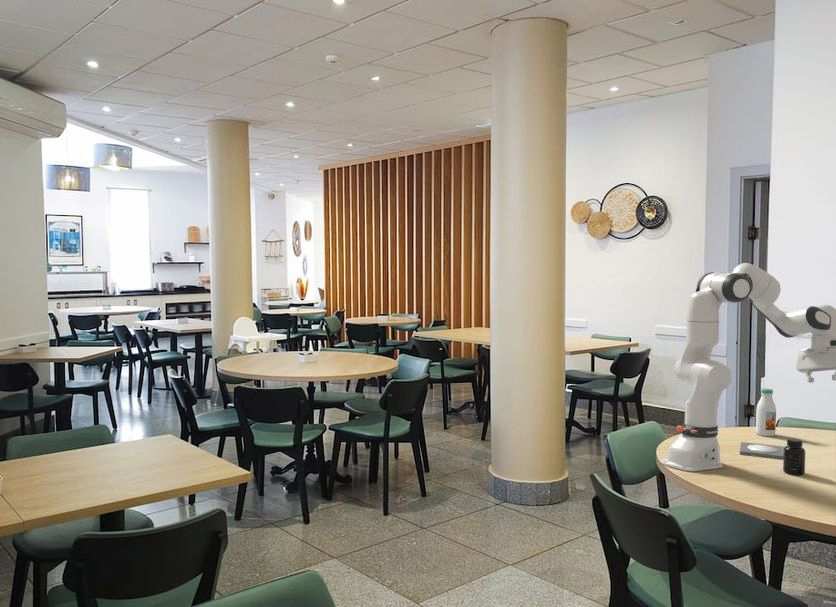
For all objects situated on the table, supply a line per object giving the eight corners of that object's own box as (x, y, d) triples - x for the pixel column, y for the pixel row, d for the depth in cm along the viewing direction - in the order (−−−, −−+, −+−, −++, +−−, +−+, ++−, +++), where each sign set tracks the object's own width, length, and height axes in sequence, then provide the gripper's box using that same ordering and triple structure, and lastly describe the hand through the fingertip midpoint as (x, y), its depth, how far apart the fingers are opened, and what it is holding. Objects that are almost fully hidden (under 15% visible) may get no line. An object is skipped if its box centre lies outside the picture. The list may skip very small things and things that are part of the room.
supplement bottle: (783, 469, 250) (784, 436, 250) (805, 472, 247) (806, 438, 246) (782, 473, 244) (783, 440, 244) (804, 477, 241) (805, 443, 240)
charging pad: (786, 459, 263) (786, 456, 262) (739, 454, 270) (739, 450, 270) (785, 449, 277) (785, 446, 277) (740, 444, 284) (741, 441, 284)
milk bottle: (757, 436, 299) (759, 390, 298) (753, 432, 306) (755, 387, 305) (777, 437, 297) (779, 391, 296) (772, 433, 304) (774, 388, 303)
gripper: (793, 347, 273) (791, 380, 268) (845, 340, 255) (844, 376, 251) (803, 352, 275) (801, 385, 271) (856, 346, 258) (854, 381, 253)
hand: (822, 381), depth 261 cm, fingers open, 8 cm apart
